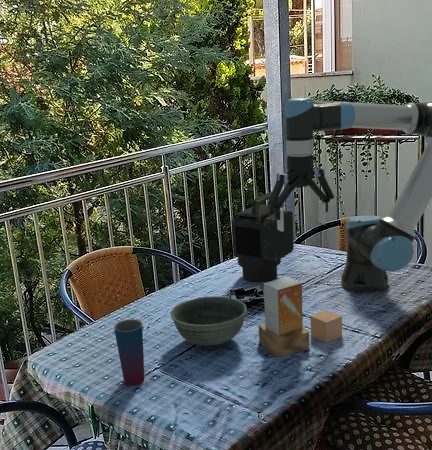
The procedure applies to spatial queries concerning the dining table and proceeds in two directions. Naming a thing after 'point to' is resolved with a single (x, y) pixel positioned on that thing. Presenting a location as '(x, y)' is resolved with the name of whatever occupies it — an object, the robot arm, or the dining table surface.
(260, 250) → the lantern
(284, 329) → the small box
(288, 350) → the walnut plinth
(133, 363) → the cup
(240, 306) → the bowl
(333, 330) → the terracotta cube
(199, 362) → the dining table surface
